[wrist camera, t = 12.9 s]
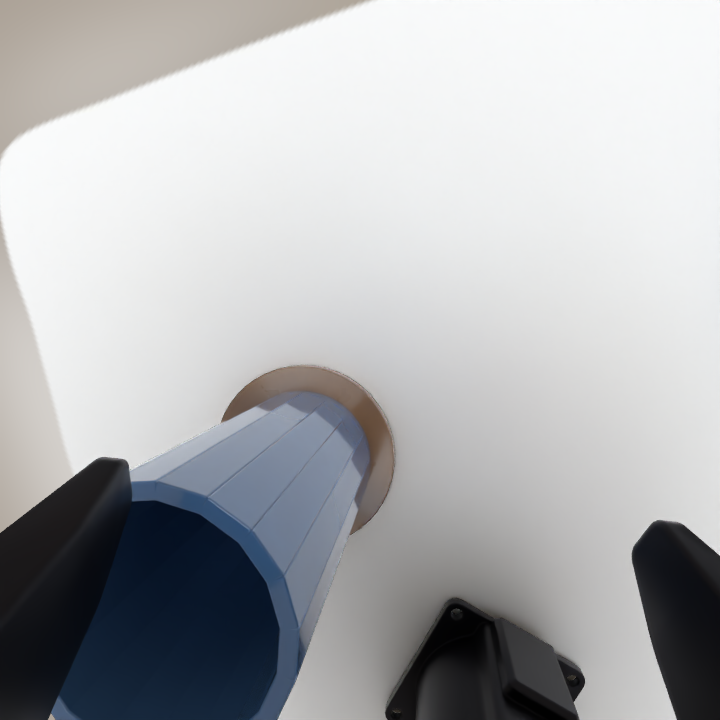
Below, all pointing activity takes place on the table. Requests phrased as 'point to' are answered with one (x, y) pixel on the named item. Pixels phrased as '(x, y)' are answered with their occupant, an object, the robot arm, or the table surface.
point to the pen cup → (223, 567)
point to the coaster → (350, 398)
